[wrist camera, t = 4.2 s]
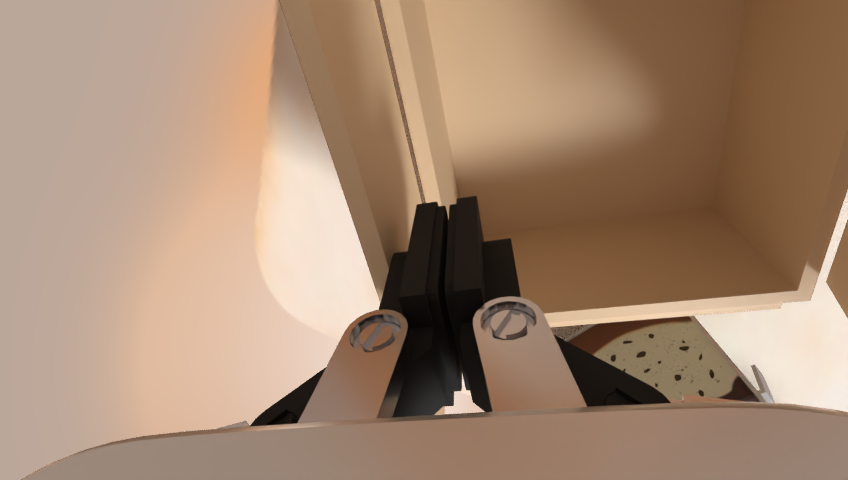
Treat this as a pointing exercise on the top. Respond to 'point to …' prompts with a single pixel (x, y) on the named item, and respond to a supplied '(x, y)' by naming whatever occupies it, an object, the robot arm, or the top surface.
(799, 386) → the top surface
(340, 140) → the left flap
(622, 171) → the carton
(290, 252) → the top surface
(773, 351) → the top surface
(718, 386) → the food container
